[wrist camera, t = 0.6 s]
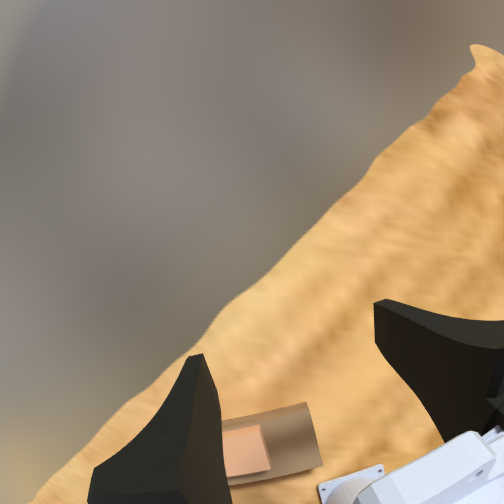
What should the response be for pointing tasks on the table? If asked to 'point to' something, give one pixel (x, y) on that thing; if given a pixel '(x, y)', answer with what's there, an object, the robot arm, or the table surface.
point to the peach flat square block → (245, 451)
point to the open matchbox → (281, 441)
